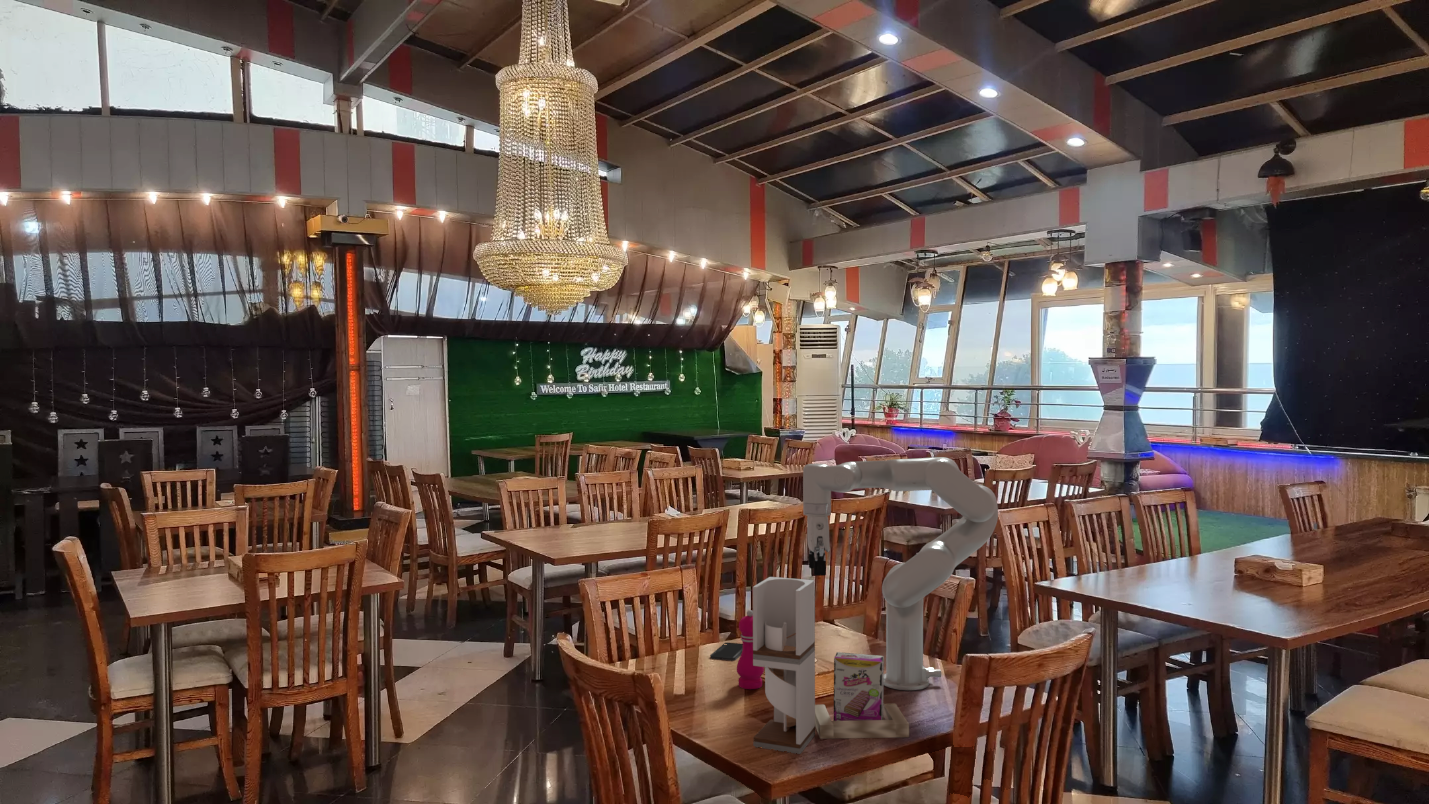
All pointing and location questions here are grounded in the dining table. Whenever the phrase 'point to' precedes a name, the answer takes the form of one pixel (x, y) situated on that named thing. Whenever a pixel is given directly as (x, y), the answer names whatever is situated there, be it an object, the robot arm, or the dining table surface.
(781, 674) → the white spiral tower
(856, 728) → the notched board
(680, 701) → the dining table surface
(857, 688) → the candy bar box
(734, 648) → the phone
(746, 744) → the dining table surface
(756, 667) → the pepper mill
